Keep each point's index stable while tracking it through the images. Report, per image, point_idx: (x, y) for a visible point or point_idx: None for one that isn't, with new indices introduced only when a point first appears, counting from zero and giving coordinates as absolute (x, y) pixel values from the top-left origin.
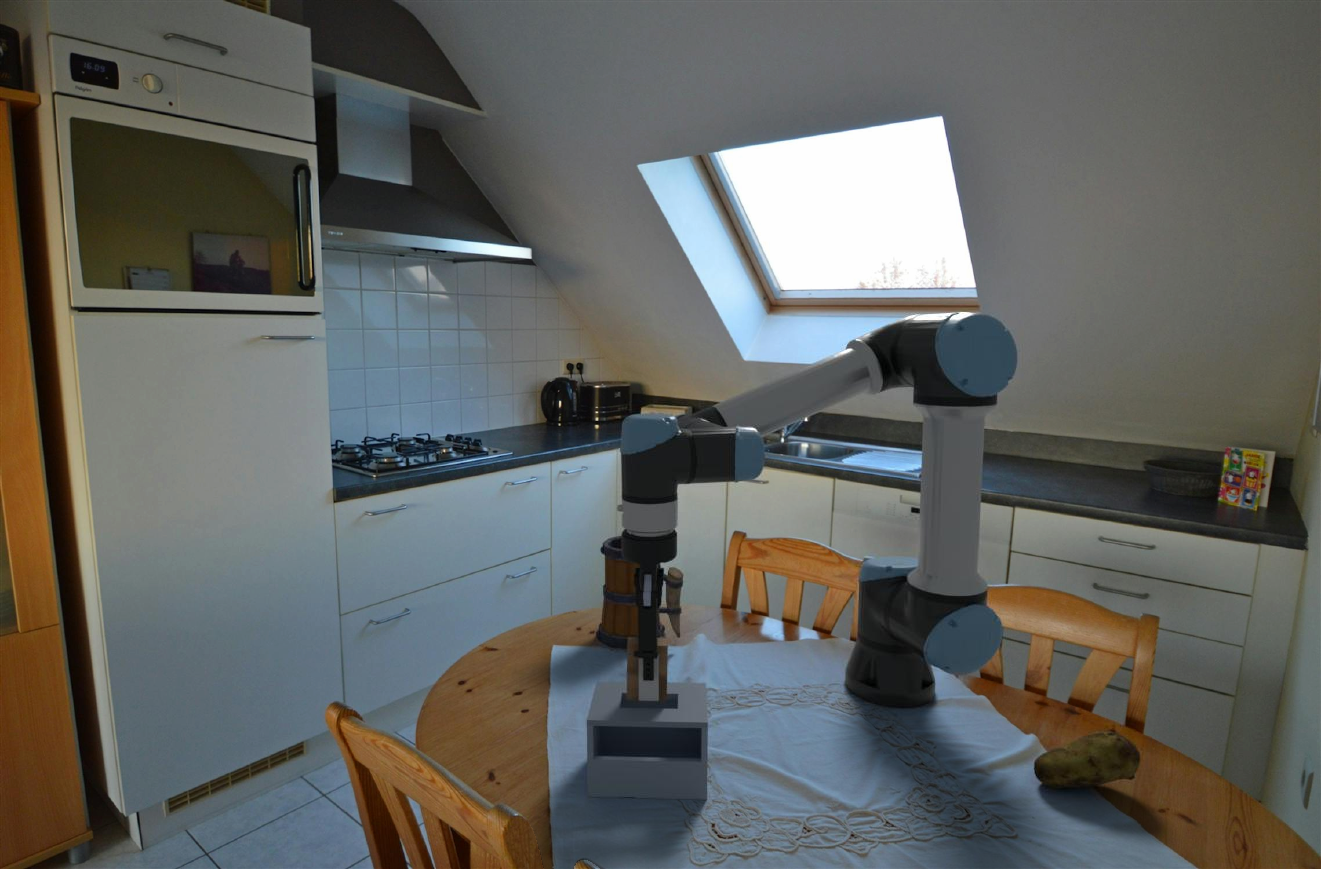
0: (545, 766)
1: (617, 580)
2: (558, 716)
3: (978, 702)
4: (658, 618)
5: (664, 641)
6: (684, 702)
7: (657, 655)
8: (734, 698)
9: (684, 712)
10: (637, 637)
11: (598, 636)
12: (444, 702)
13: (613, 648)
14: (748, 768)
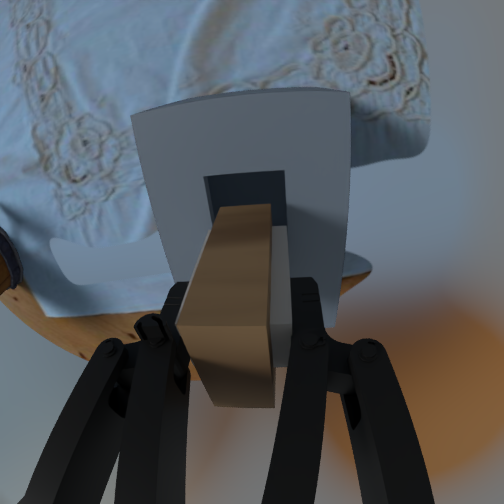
0: None
1: None
2: (156, 300)
3: None
4: (161, 425)
5: (219, 336)
6: (247, 155)
7: (373, 347)
8: (44, 95)
9: (302, 151)
10: (210, 393)
11: (16, 284)
12: None
13: (20, 266)
14: (221, 28)
